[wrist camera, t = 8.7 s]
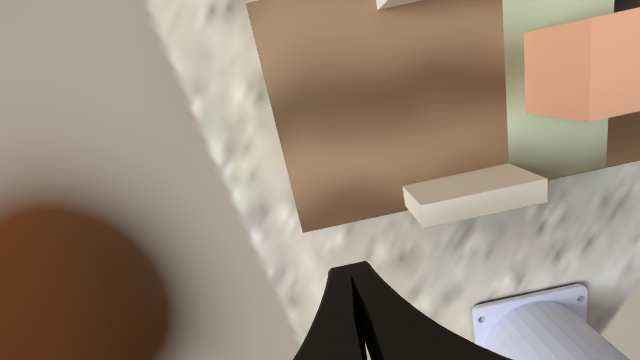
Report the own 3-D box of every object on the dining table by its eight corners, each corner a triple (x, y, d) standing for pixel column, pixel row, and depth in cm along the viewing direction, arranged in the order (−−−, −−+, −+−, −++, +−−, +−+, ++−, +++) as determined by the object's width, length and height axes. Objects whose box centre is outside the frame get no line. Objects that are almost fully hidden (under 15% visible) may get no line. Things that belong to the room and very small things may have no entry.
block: (600, 96, 17) (684, 101, 14) (525, 113, 17) (588, 122, 14) (603, 15, 16) (696, -6, 12) (523, 32, 16) (591, 17, 12)
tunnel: (509, 183, 19) (547, 202, 16) (405, 205, 19) (424, 228, 16) (500, -46, 15) (546, -76, 12) (373, -18, 15) (389, -41, 12)
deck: (672, 139, 20) (711, 145, 18) (302, 218, 21) (302, 232, 19) (697, -88, 17) (748, -110, 15) (252, 11, 17) (245, 3, 15)
